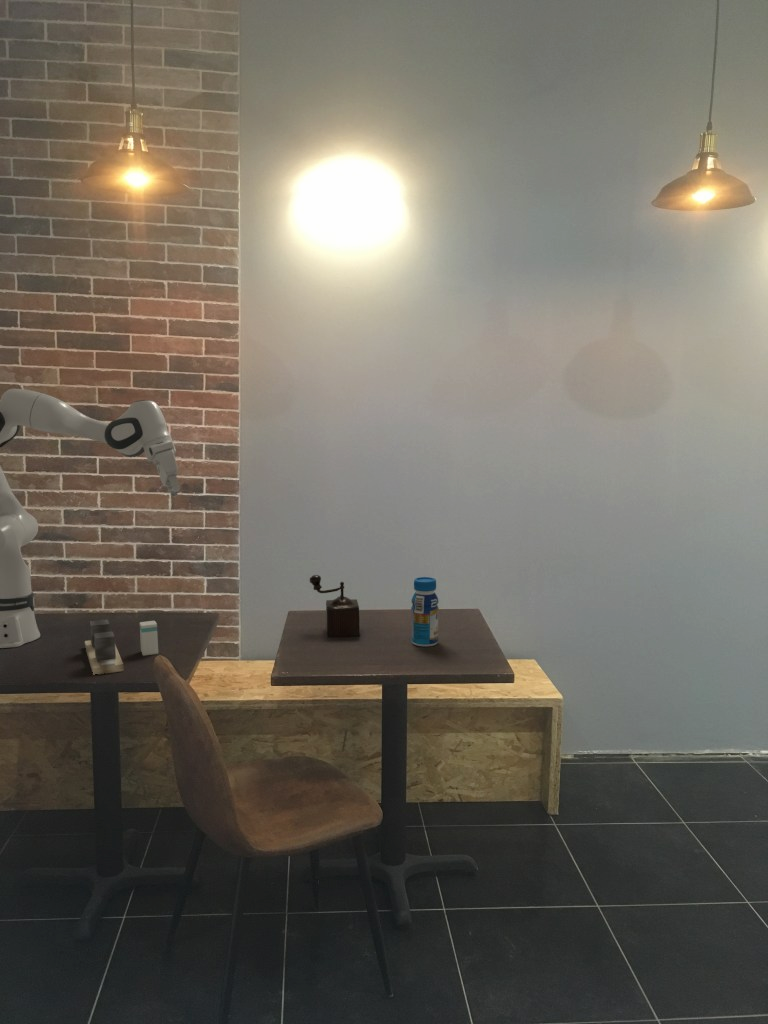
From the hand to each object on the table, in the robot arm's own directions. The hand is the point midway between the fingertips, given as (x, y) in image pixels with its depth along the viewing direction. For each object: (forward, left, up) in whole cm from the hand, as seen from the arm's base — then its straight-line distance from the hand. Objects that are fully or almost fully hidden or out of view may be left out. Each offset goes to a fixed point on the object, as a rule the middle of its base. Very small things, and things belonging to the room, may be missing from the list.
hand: (176, 494), depth 248 cm
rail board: (-24, -8, -46) cm, 52 cm away
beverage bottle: (+67, -34, -46) cm, 88 cm away
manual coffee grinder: (+46, -12, -46) cm, 66 cm away
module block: (-11, -8, -46) cm, 48 cm away
